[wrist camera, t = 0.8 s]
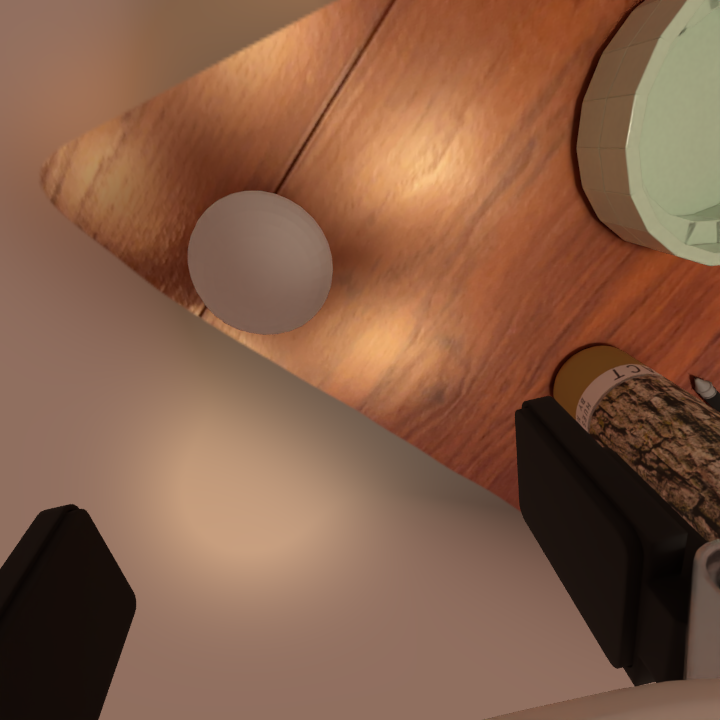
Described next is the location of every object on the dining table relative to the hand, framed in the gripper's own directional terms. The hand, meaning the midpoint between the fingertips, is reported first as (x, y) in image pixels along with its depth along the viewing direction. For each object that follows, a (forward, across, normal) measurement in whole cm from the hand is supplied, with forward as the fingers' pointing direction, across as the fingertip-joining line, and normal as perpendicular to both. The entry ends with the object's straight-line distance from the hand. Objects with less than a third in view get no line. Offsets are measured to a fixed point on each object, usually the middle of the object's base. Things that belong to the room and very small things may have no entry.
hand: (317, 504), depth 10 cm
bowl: (+24, -27, -3) cm, 37 cm away
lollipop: (+25, +1, -2) cm, 25 cm away
